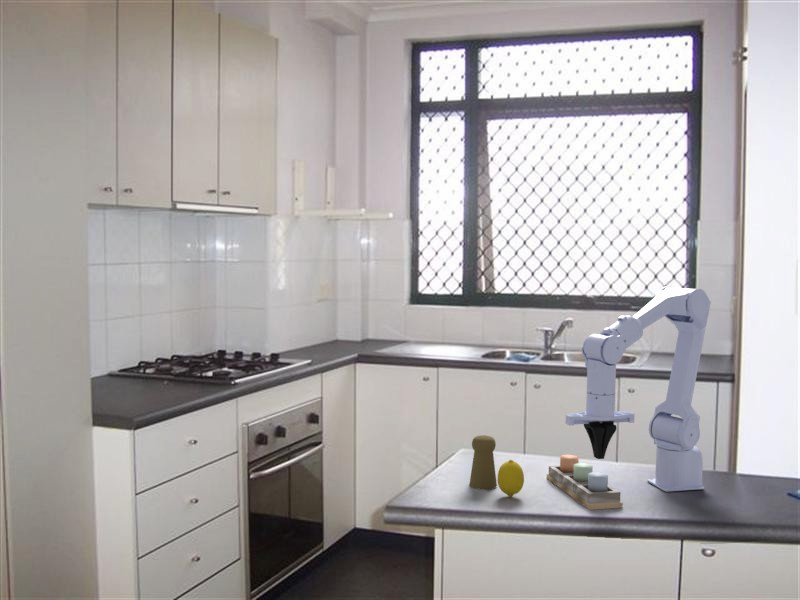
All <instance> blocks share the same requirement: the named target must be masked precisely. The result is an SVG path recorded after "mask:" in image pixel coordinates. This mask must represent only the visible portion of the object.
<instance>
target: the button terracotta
mask: <svg viewBox="0 0 800 600" xmlns="http://www.w3.org/2000/svg"><path fill="white" fill-rule="evenodd" d="M559 457H560V458H559V460H560V461H559V462H560V463H559V465H560V471H562V472H566V473H573V472H574V464H577V463H579V461H580V459H579V457H578V456H577V455H573V454H563V455H560V456H559Z"/></svg>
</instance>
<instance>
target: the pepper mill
mask: <svg viewBox="0 0 800 600" xmlns="http://www.w3.org/2000/svg"><path fill="white" fill-rule="evenodd" d="M496 445H497V443H496V440H495V438H494V437H492V436H490V435H477V436H474V437H473V438H472V441H471V446H472V447H471V448H472V450H473V458H472V459H473V460H472V464H471V465H472V466H471V470H470V471H471V473H470V477H469V484H468V485H469V486H470V487H471V488H473V489H477V490H493V489H495V488H497V487H496V486H498V485H497V484H498V482H497V474H496V469H495V466H496V465H495V460H494V459H495V458H494V451H495V450H496V449H495V448H496Z"/></svg>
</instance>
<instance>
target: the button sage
mask: <svg viewBox="0 0 800 600" xmlns="http://www.w3.org/2000/svg"><path fill="white" fill-rule="evenodd" d="M592 472H594V470H593V465H592V464H590V463H583V462H578V463H577V464H574V473H573V479H574V480H575V481H579V482H588V474H589V473H592Z"/></svg>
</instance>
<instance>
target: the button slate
mask: <svg viewBox="0 0 800 600" xmlns="http://www.w3.org/2000/svg"><path fill="white" fill-rule="evenodd" d="M608 481H609V475H608V474H607V473H603V472H598V471H595V472H594V471H593V472H592V473H589V474H588V490H590V491H594V492H606V491H607V490H608V485H609V484H608V483H609V482H608Z"/></svg>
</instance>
